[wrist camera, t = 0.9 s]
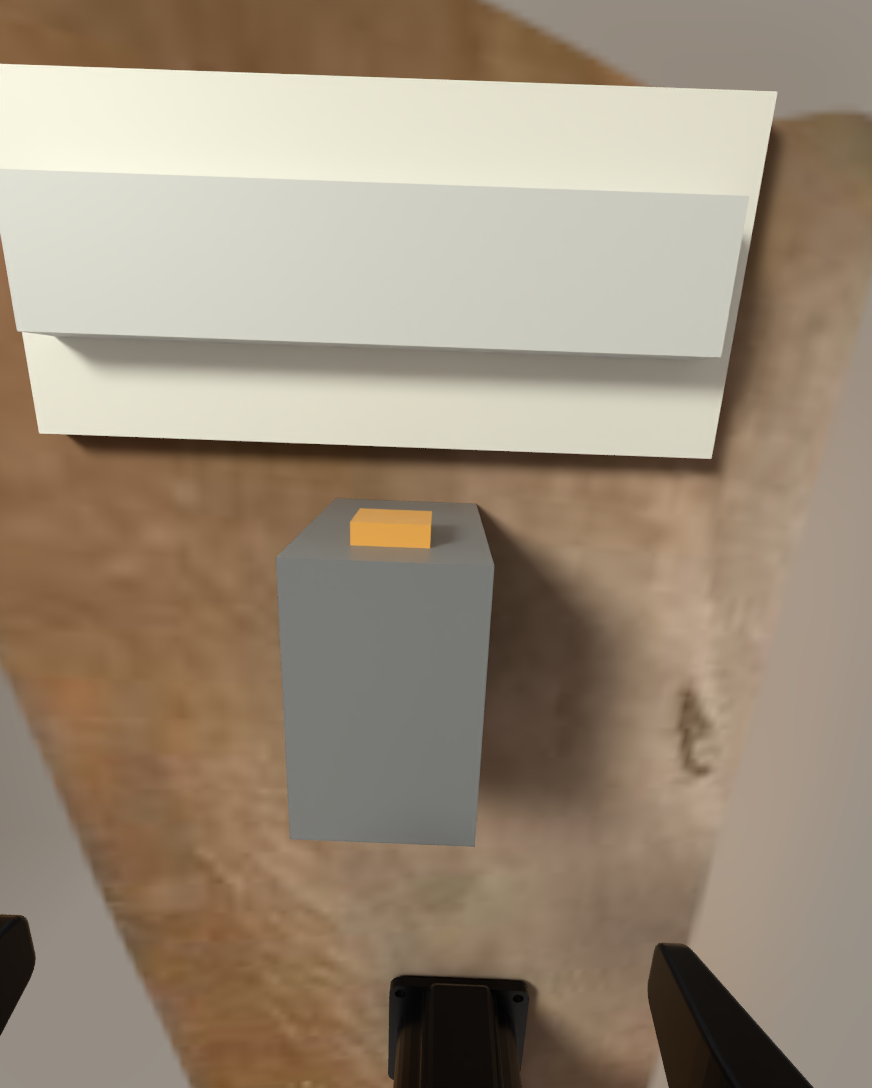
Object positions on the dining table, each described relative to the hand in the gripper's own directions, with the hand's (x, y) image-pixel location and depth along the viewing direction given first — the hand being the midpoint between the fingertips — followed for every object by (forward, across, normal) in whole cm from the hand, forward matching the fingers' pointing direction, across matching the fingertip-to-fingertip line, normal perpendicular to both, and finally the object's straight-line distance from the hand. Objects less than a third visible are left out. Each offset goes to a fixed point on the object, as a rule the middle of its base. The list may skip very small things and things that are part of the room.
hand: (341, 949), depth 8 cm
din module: (+13, 0, 0) cm, 13 cm away
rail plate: (+13, +1, -11) cm, 17 cm away
